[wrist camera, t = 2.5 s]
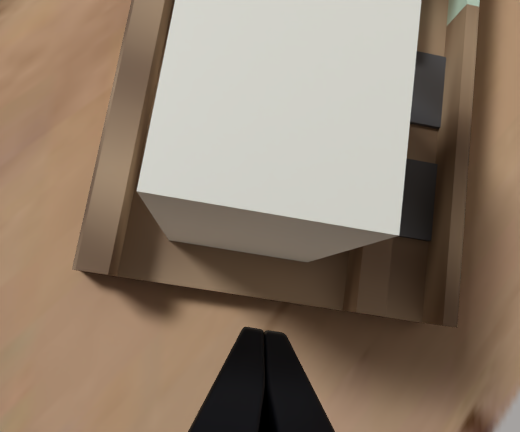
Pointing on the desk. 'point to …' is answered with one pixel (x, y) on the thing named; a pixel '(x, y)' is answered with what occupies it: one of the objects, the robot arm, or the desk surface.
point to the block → (282, 125)
